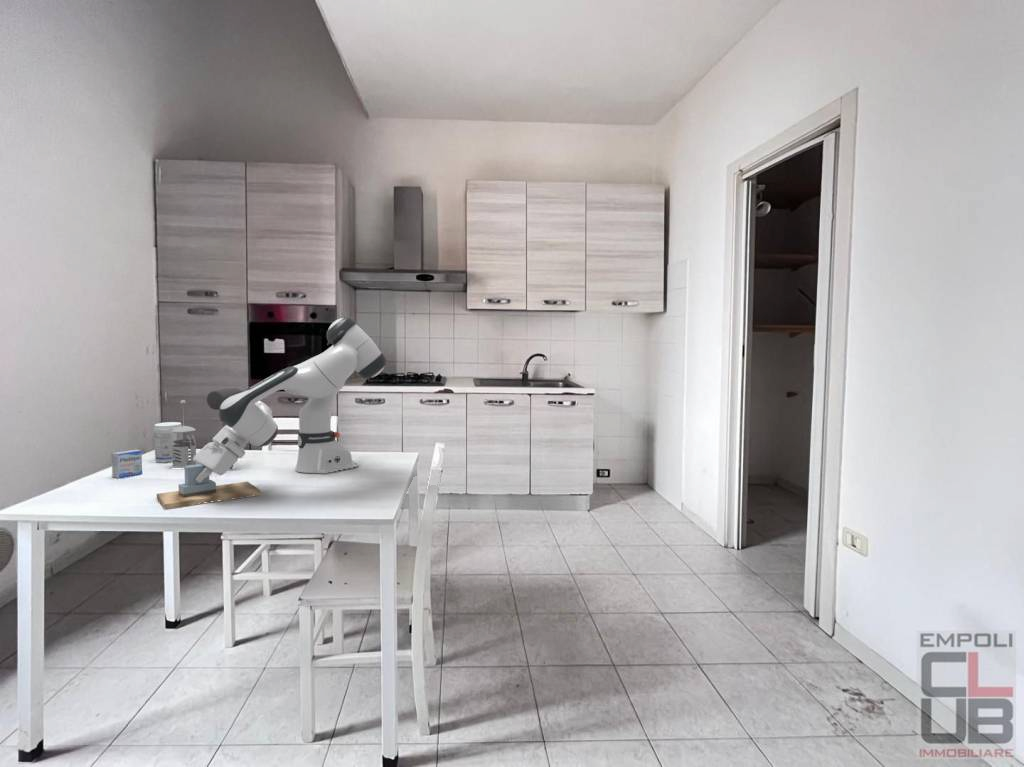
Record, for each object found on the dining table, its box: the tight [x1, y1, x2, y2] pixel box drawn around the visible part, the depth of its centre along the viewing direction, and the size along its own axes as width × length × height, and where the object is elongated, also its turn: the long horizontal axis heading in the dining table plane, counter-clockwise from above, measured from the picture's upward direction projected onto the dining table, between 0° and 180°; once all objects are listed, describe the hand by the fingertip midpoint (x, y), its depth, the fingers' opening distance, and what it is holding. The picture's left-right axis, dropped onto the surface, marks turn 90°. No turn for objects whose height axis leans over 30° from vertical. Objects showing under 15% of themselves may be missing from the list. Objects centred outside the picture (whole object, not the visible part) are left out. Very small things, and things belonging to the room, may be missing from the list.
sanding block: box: [178, 464, 217, 497], centre depth 181 cm, size 9×5×8 cm, turn 134°
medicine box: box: [111, 449, 143, 479], centre depth 208 cm, size 8×4×9 cm, turn 148°
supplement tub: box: [153, 421, 184, 464], centre depth 233 cm, size 10×10×15 cm
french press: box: [170, 399, 198, 469], centre depth 223 cm, size 10×12×25 cm
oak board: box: [156, 481, 262, 510], centre depth 183 cm, size 26×14×2 cm, turn 129°
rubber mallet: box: [206, 387, 243, 470], centre depth 218 cm, size 12×8×30 cm, turn 169°
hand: (194, 479), depth 180 cm, fingers closed on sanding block, 3 cm apart
